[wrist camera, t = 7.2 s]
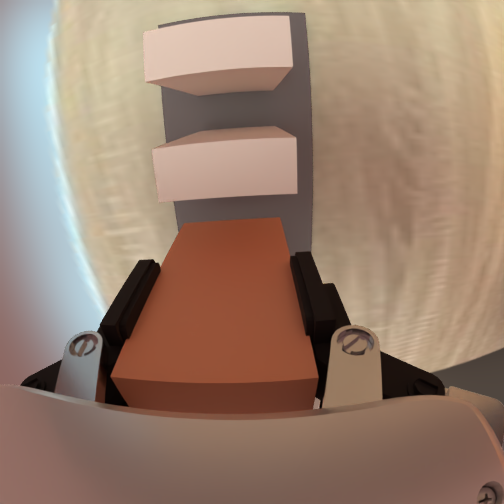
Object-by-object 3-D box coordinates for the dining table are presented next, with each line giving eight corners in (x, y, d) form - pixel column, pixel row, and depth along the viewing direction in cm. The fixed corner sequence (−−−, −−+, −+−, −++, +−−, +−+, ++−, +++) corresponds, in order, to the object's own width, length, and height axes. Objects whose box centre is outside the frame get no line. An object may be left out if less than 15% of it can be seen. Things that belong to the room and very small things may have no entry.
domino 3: (183, 223, 15) (110, 376, 6) (279, 217, 15) (318, 377, 6) (189, 257, 16) (136, 417, 7) (280, 252, 16) (310, 419, 7)
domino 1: (195, 68, 16) (143, 32, 7) (271, 62, 16) (289, 15, 7) (197, 96, 17) (144, 82, 8) (273, 90, 17) (293, 66, 8)
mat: (303, 15, 15) (305, 13, 14) (305, 324, 26) (306, 329, 26) (160, 27, 15) (158, 25, 14) (199, 328, 27) (198, 333, 26)
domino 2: (200, 131, 18) (151, 149, 9) (275, 126, 18) (296, 137, 9) (203, 159, 19) (159, 202, 10) (276, 154, 19) (297, 193, 10)
